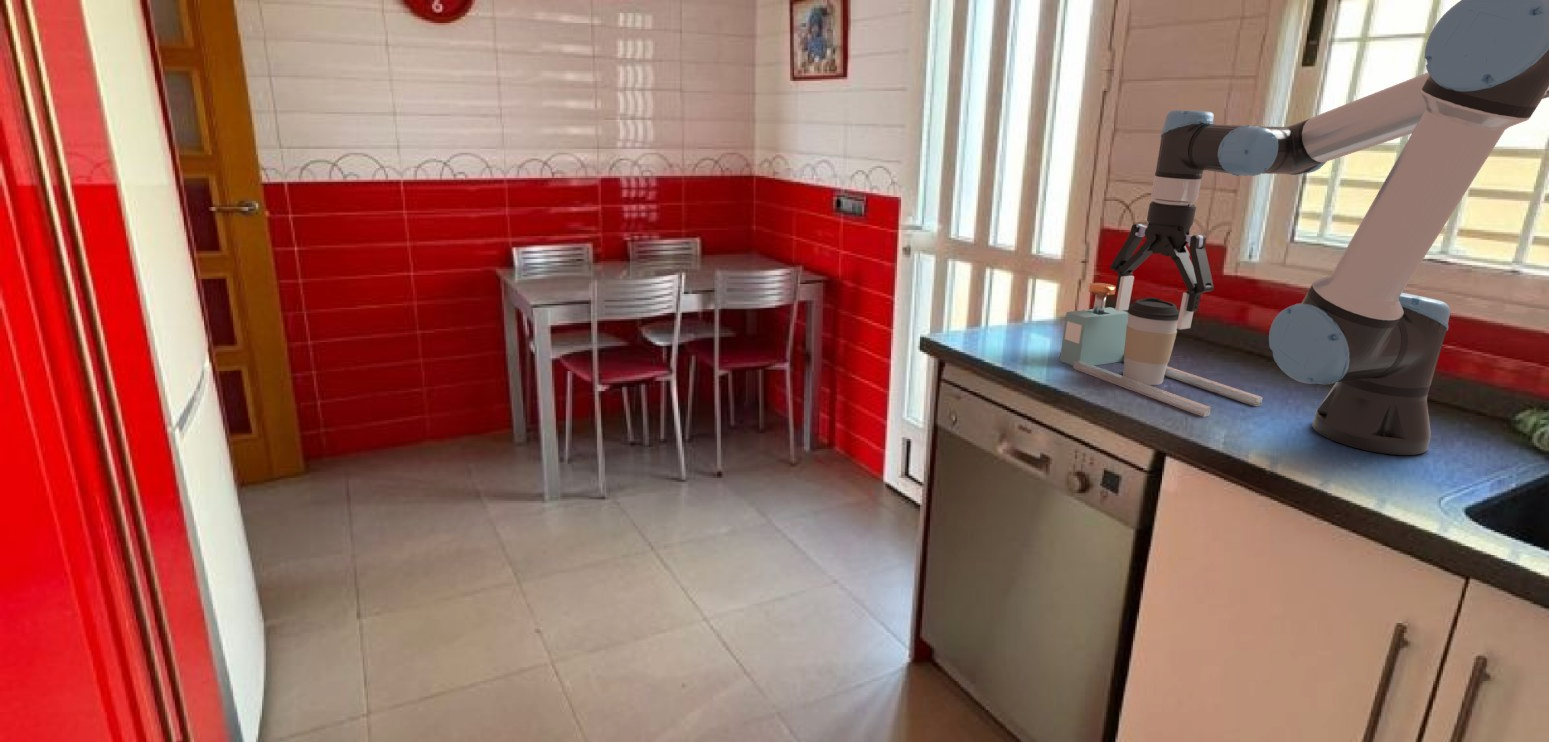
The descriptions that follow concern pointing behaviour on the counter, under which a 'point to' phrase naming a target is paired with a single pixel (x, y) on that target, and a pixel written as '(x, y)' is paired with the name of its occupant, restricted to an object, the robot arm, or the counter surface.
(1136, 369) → the coffee cup
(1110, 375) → the parallel base rails
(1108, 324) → the cabinet
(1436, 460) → the counter surface
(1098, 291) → the knob
